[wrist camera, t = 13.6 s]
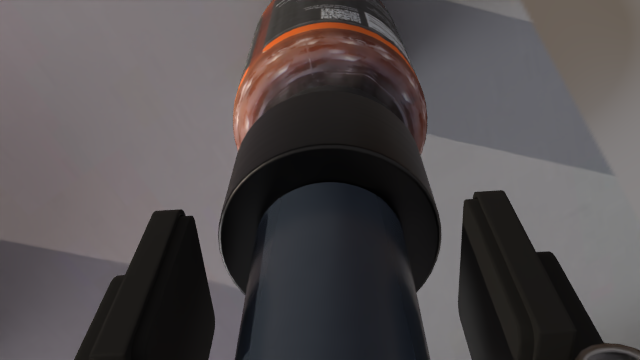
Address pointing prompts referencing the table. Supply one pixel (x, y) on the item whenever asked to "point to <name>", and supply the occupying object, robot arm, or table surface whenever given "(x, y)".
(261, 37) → the supplement bottle
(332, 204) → the torch
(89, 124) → the table surface
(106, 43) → the table surface
